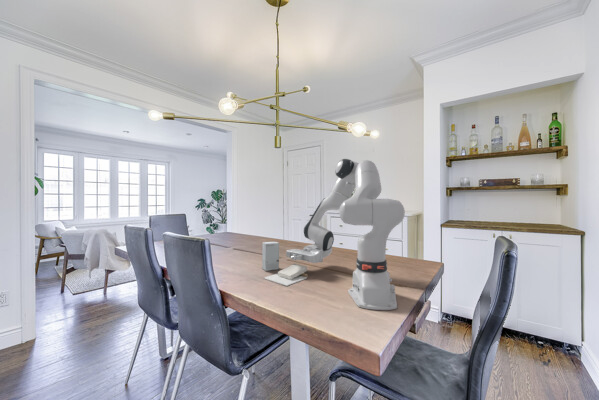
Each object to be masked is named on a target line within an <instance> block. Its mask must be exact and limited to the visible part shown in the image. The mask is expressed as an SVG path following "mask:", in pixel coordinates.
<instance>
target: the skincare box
mask: <svg viewBox="0 0 599 400" xmlns="http://www.w3.org/2000/svg"><path fill="white" fill-rule="evenodd" d="M261 243H262V244H261V245H262V248H261V249H262V251H261V256H262V257H261V260H262V261H261V267H262V268H261V269H262V270H263V271H265V272H268V271H274V270H275V271H276V270H279V269H280V242H277V241H263V242H261Z"/></svg>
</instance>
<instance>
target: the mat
mask: <svg viewBox="0 0 599 400" xmlns="http://www.w3.org/2000/svg"><path fill="white" fill-rule="evenodd" d="M307 278H308V277H307ZM307 278H306V277H303V276H297V277H295V278H293V279H291V280H290V279H286V278H283V277H280V276H278V272H276V273H275V274H272V275H268V276H264V277H263V280H267V281H269V282H273V283H276V284H278V285H282V286H285V287H288V286H291V285H294V284H297V283H299V282H302V281H304V280H307Z"/></svg>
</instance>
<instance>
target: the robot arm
mask: <svg viewBox="0 0 599 400" xmlns="http://www.w3.org/2000/svg"><path fill="white" fill-rule="evenodd" d="M334 173H335V176H337V177H338V178H337V179H336V181H335V182H334V184H333V187H332V190H331V191H330V194H328V196H327V197H325V198H323V199H321V201H320V203H319V205H318V206H317V207H316V208H315V209H316V210H315V211H314V213H313V214H312V216H311V218H310V219H309V221H308V222H307V223H306V224H305V225H304V228H303V235H304V237H305V238H306V239H308V240H309V241H313V242H314V243H313V244H308V245H305V246H304V247H303V248H302V249H298V248H291V249H287V250H286V252H285V257H286V258H290V260H292V261H302V262H303V261H304V262H307V263H313V264H317V263H322V262H323V261H324V258H326V257H328V256H330V255H331V253H332V252H333V245H334V242H335V241H334V240H335V238H334V233H333V232H332V231H331V230H329V229H327V228H325V227H323V226H321V225H319V224H320V222H321V220H322V218H323V217H324V215H325V213H326V212H328V211H331V210H333V211H335V210H336V211H339V212H338V214H339V218H340V220H341V222H342V223H344V224H347V225H350V226H351V225H352V226H371V227H372V229H371V230H370V231H369V232H367V233H365V234H363V235H361V236H360V237H359V238H358V240H357V257H356V263H355V264H356V268H355V270H354V271H353V272H352V287H350V288H349V289H347V292H348V294H349V296H350V297H351V298H352V300H353V301H354V303H355V305H356V306H357V307H359V308H363V309H367V310H373V311H374V310H376V311H390V310H392V311H393V310H397V309H398V304H397V295H396V291H395V290H396V288H395V284H391V283H392V282H393V278H390V277H391V276H390V272H389V271H388V263H387V259H386V250H387V248H386V247H387V240H388V238H389V236H390V233H391V232H392V231H393V229H395V228H396V227H397V226H398V225H400V224H401V223H402V222H403V220H404V218H405V213H406V211H405V207H404V205H403V204H402V202H401V201H400V200H397V199H393V198H378V197H380V195H381V193H382V184H381V183H382V182H381V178H380V173H379V170H378V168H377V165H376V164H375V163H374V162H373V161H372V160H368V159H366V160H362V161H360V162H356V161H353V160H351V159H349V158H341V159H340V160H339V162H338V163H337V164H336V166H335V171H334ZM353 192H354V193H353Z"/></svg>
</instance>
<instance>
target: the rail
mask: <svg viewBox="0 0 599 400" xmlns="http://www.w3.org/2000/svg"><path fill="white" fill-rule="evenodd" d="M299 276H303V277H306V278H308V277H309V274H308V273H306V272H304V273H302V274H300V275H299Z"/></svg>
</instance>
